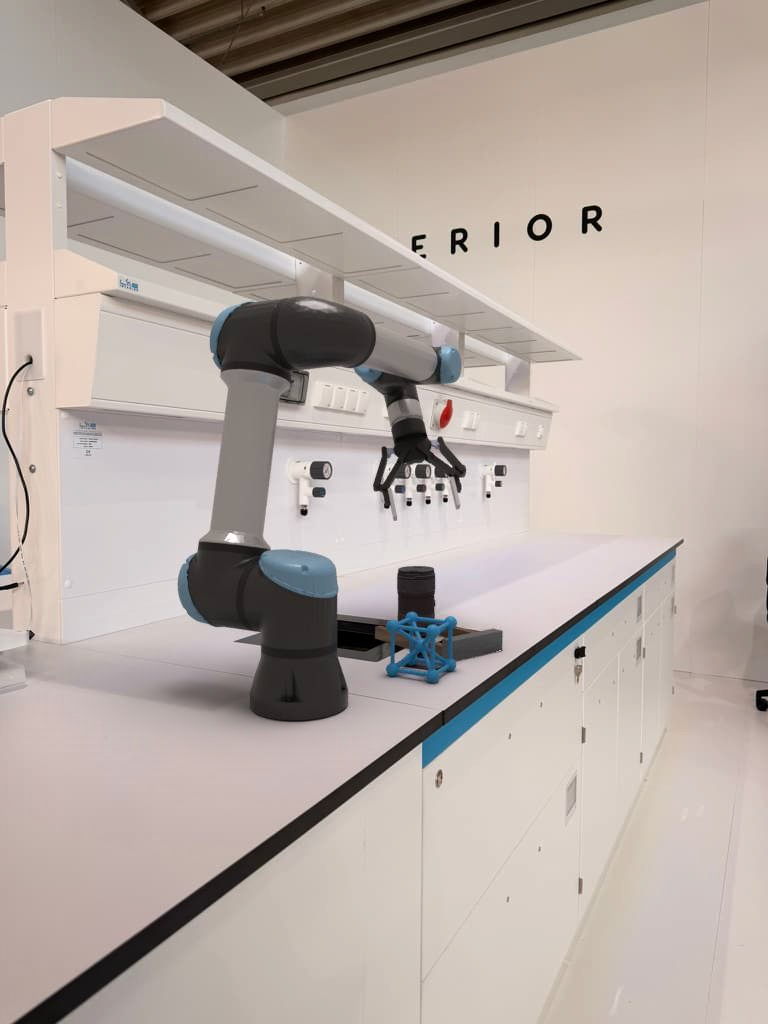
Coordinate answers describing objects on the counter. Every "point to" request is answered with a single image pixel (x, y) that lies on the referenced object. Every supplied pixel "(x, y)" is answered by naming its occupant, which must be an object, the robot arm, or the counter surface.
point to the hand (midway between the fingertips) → (426, 513)
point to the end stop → (473, 644)
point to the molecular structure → (421, 646)
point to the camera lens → (416, 594)
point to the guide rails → (402, 641)
